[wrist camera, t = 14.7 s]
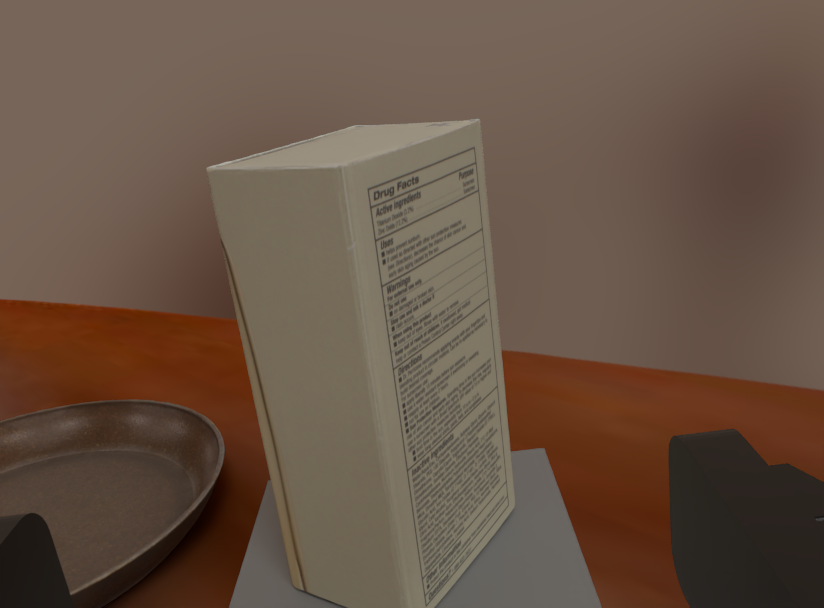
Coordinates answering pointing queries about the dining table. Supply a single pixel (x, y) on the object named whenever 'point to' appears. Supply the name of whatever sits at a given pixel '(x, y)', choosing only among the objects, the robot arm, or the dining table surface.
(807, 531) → the robot arm
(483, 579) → the block
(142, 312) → the dining table surface
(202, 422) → the plant saucer
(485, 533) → the skincare box
